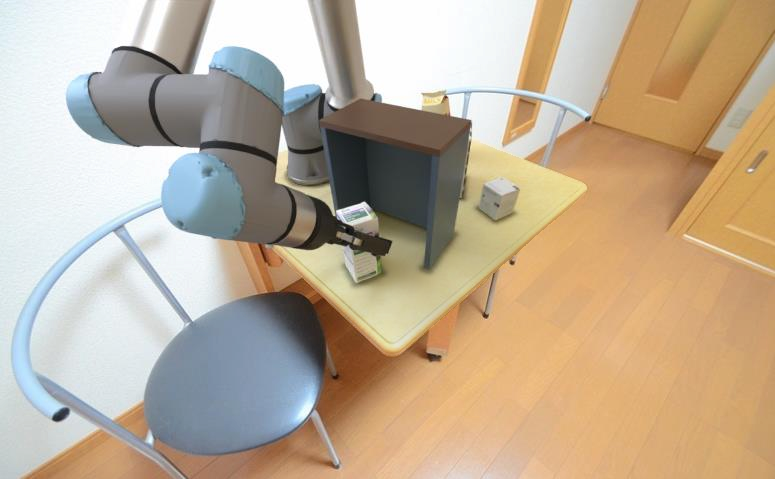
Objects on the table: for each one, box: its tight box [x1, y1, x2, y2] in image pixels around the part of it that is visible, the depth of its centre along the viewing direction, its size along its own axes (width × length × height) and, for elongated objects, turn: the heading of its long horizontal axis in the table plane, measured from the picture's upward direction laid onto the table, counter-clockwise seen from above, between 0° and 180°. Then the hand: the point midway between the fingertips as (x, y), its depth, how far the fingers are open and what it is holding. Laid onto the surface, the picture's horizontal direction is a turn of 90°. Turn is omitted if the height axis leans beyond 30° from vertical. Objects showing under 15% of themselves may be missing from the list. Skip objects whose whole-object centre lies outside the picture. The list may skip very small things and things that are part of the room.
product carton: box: [478, 176, 522, 221], centre depth 75 cm, size 6×6×7 cm
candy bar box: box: [459, 119, 473, 199], centre depth 81 cm, size 11×5×16 cm, turn 168°
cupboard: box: [319, 99, 472, 271], centre depth 64 cm, size 23×13×26 cm, turn 58°
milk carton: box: [420, 89, 452, 116], centre depth 93 cm, size 9×9×20 cm
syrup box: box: [336, 201, 383, 284], centre depth 60 cm, size 6×6×14 cm
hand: (370, 239), depth 63 cm, fingers closed on syrup box, 8 cm apart
